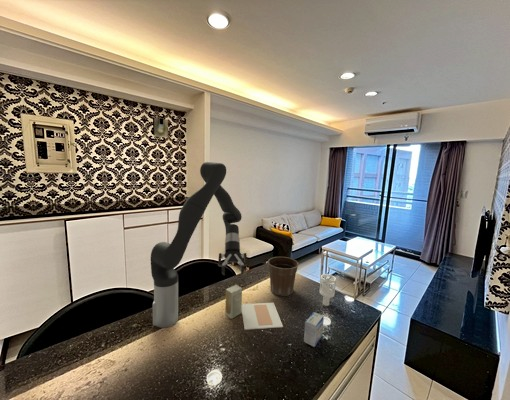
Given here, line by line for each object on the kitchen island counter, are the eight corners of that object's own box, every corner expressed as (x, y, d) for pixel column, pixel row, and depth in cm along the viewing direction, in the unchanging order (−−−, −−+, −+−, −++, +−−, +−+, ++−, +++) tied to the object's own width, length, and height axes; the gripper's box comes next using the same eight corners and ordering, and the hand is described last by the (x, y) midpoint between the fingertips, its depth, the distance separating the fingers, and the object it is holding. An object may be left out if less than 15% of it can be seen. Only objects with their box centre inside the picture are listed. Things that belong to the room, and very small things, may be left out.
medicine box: (314, 348, 84) (316, 326, 82) (303, 342, 86) (305, 321, 85) (322, 336, 90) (324, 316, 89) (311, 331, 93) (313, 311, 91)
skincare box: (235, 308, 105) (236, 284, 103) (241, 313, 102) (242, 287, 100) (224, 314, 100) (225, 288, 99) (230, 319, 97) (231, 292, 96)
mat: (244, 329, 91) (244, 328, 91) (240, 304, 108) (240, 303, 108) (283, 327, 94) (283, 326, 94) (273, 303, 111) (273, 302, 110)
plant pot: (260, 289, 123) (261, 260, 121) (279, 280, 134) (281, 254, 132) (282, 302, 112) (284, 271, 109) (302, 291, 122) (304, 263, 120)
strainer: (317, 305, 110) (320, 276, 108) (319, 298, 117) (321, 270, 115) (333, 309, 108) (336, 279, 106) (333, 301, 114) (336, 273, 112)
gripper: (218, 240, 114) (218, 272, 104) (246, 240, 116) (248, 271, 106) (218, 246, 120) (217, 277, 110) (245, 246, 122) (246, 276, 112)
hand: (233, 274), depth 108 cm, fingers open, 8 cm apart
